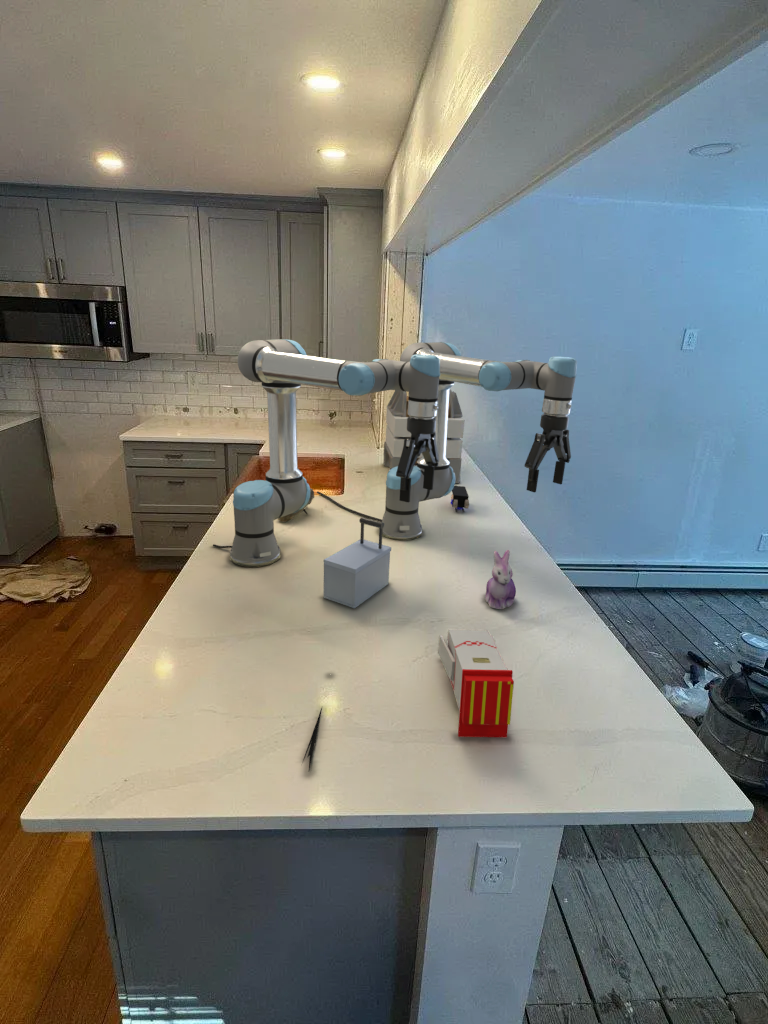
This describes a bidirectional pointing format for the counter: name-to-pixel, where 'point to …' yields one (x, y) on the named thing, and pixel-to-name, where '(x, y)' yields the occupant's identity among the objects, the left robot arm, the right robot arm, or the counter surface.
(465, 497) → the figurine character
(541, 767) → the counter surface
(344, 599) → the chest
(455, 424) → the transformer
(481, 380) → the right robot arm
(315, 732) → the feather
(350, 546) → the lid
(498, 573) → the figurine
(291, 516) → the fossil
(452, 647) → the toy
